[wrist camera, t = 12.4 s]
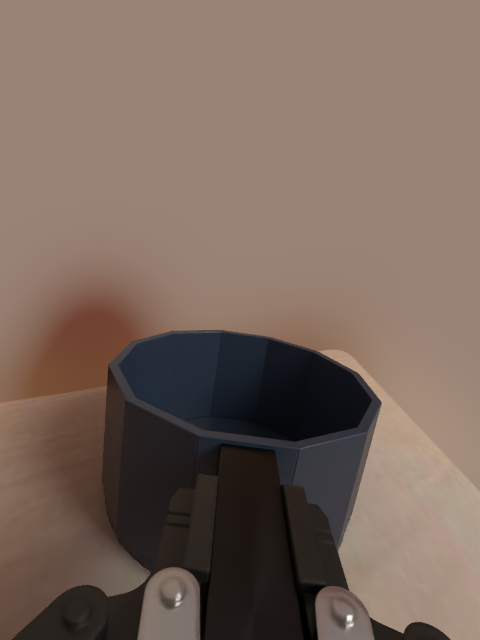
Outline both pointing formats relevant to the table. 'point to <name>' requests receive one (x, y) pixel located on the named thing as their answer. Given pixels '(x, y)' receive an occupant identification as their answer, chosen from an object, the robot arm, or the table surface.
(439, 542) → the table surface
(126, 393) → the pan
